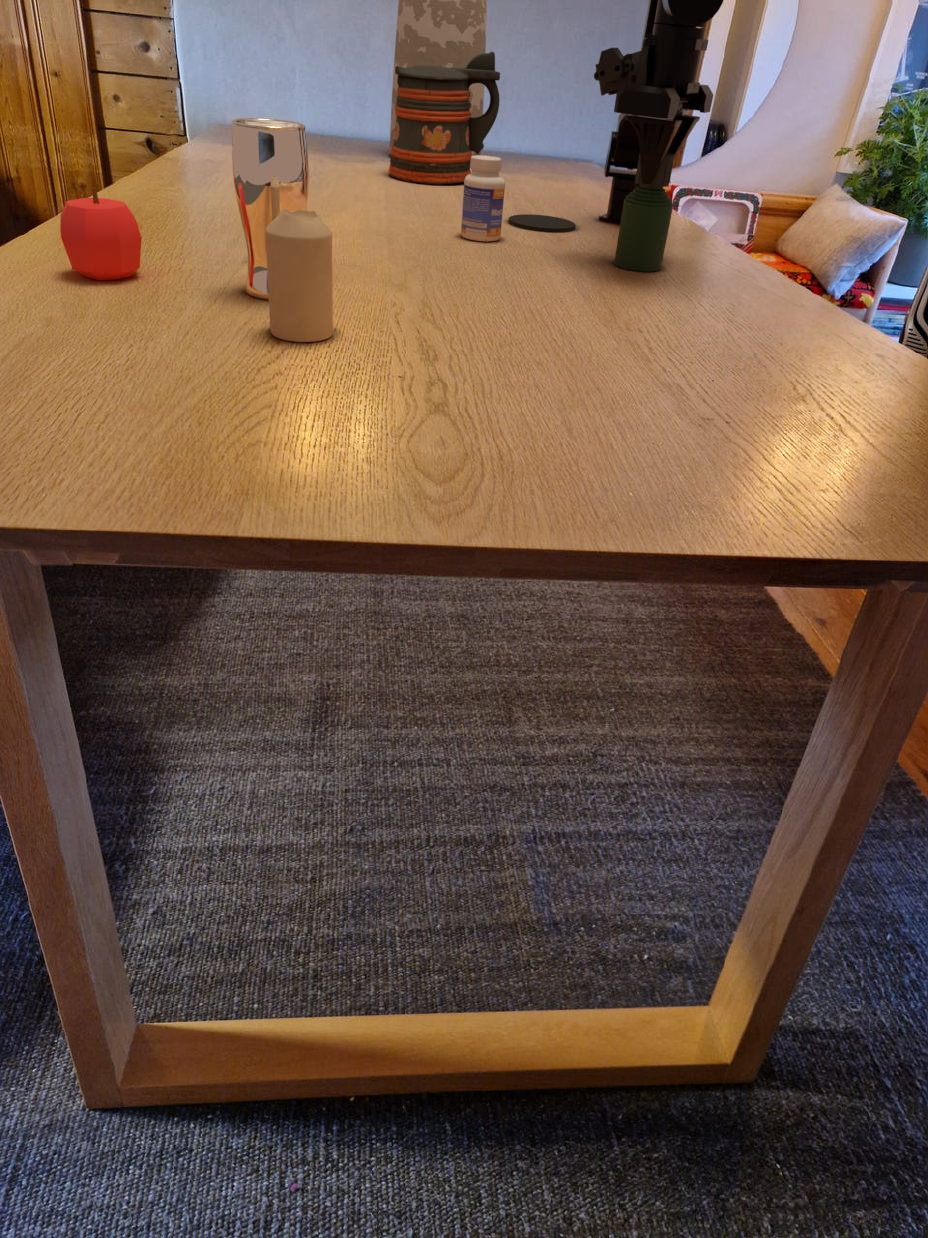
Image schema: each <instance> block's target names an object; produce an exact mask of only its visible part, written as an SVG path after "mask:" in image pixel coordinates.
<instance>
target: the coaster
mask: <svg viewBox="0 0 928 1238" xmlns="http://www.w3.org/2000/svg"><path fill="white" fill-rule="evenodd" d="M507 222H508V224H510V225H512V226H513V227H517V228H520V229H524V230H530V231H537V232H544V233H545V232H546V233H566V232H572V231H575V229H576V228H577V227H576V223H575V222H574V221H572V220H569V219H566V218H562V217H558V216H553V215H552V216H551V215H545V214H531V213H530V214H527V213H526V214H513V215H511V216H509V217H508V220H507Z"/></svg>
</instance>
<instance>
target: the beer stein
mask: <svg viewBox="0 0 928 1238" xmlns="http://www.w3.org/2000/svg"><path fill="white" fill-rule="evenodd" d="M395 73H396V74H397V75H398V78H397V84H398V93H397V94H398V96H397V102H396V104H397V105H396V111H395V114H396V125H395V135H394V144H393V145H392V147H391V154H390V155H389V167H388V173H389V176H391V177H392V178H395V179H398V180H400V181H404V182H411V183H417V184H424V185H439V186H440V185H445V184H447V185H448V184H449V185H450V184H462V183H464V180H465V177H466V176H467V175H469V174H471V173H472V170H471V168H470V167H471V166H470V163H471V162H470V159H471V157H472V153H471V151H474V152H476V154H477V155H478V154H479V152H480V151H482V150H483V149H484V148H485V144H484V140H485V139H486V137H487V136H488V135H489V133H490V131H491V130H492V127H493V126H494V124H495V122H496V121H497V117H498V113H499V109H500V92H499V87H498V84H497V82H498V81H500V79H501V72H500V71H497V70H496V53H495V52H494V51H490V52H486V53H483V54H479V55H477V56H475V57H473V58H472V59H471V60H470V61H469V63H468V64H467V66H466V68H447V67H441V66H413V67H408V68H403V67H400V66H396V68H395ZM475 83H481V84H483V85H484V87H485V88H486V89H487V91H488V94H489V98H490V99H489V105H488V108H487V110H486V111H484V112H483V115H482V116H480V117H474V118H472V117H471V112H470V110H469V109H470V107H471V103H470V102H469V98H470V92H469V91H468V89H469V87H470V85H472V84H475Z"/></svg>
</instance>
